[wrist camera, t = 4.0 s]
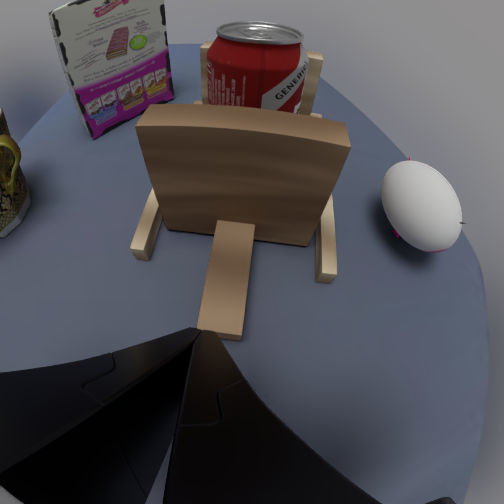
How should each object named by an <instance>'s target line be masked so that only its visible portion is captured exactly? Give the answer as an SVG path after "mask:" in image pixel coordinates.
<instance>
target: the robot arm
mask: <svg viewBox="0 0 504 504" xmlns="http://www.w3.org/2000/svg"><path fill="white" fill-rule="evenodd" d="M173 436H174V438H173ZM172 439H173V444H172V449H171V455H170V460H169V466H168V472H167V478H166V485H165V491H164V497H163V504H381V503H380V502H378V501H377V500H376V499H374V498H373V497H371V496H370V495H369V494H367V493H366V492H365V491H363V490H362V489H361V488H359V487H358V486H357V485H355V484H354V483H353V482H351V481H350V480H349V479H347V478H346V477H345V476H344V475H342V474H341V473H340V472H339V471H337V470H336V469H335V468H334V467H333V466H331V465H330V464H329V463H328V462H327V461H325V460H324V459H323V458H322V457H321V456H320V455H318V454H317V453H316V452H315V451H314V450H313V449H312V448H310V447H309V446H308V445H307V444H306V443H305V442H304V441H303V440H302V439H300V438H299V437H298V436H297V435H296V434H295V433H294V432H293V431H292V430H291V429H290V428H289V427H288V426H287V425H286V424H284V423H283V422H282V421H281V420H280V419H279V418H278V417H277V416H276V415H275V414H274V413H273V412H272V411H271V410H270V409H269V408H268V407H267V406H266V404H265V403H264V402H263V401H262V400H261V399H260V398H259V397H258V395H257V394H256V393H255V391H254V390H253V389H252V387H251V386H250V384H249V383H248V381H247V380H246V379H245V378H244V376H243V374H242V373H241V371H240V370H239V368H238V367H237V365H236V364H235V362H234V361H233V359H232V357H231V356H230V354H229V353H228V351H227V349H226V348H225V346H224V345H223V343H222V341H221V340H220V338H219V336H218V335H217V333H216V332H215V331H211V330H203V331H202V330H201V329H198V328H192V327H189V328H186V329H184V330H181V331H178V332H175V333H172V334H169V335H166V336H163V337H160V338H157V339H154V340H151V341H147V342H144V343H141V344H138V345H135V346H132V347H128V348H125V349H122V350H119V351H115V352H112V353H107V354H103V355H100V356H96V357H92V358H88V359H85V360H80V361H75V362H70V363H64V364H59V365H53V366H47V367H40V368H33V369H26V370H19V371H11V372H2V373H0V504H145V503H146V500H147V498H148V495H149V493H150V491H151V488H152V486H153V484H154V481H155V479H156V477H157V474H158V472H159V469H160V467H161V465H162V462H163V460H164V458H165V455H166V453H167V451H168V448H169V446H170V443H171V441H172ZM426 504H456V503H455V502H454V501H453V500H452V498H450V497H443V498H439V499H436V500H434V501H431V502H428V503H426Z"/></svg>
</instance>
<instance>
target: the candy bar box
mask: <svg viewBox="0 0 504 504" xmlns="http://www.w3.org/2000/svg"><path fill="white" fill-rule="evenodd" d="M49 19H50V24H51V28H52V32H53V36H54V40H55V44H56V47H57V51H58V54H59V58H60V61H61V64H62V68H63V71H64V74H65V77H66V80H67V83H68V86H69V89H70V92H71V95H72V98H73V100H74V103H75V106H76V109H77V111H78V113H79V116H80V118H81V121H82V123H83V125H84V127H85V129H86V130H87V131H88V133H89V135H90V136H91V138H92V139H93V140H94V139H96V138H98V137H99V136H101V135H103V134H104V133H106V132H108V131H110V130H111V129H113V128H115V127H117V126H118V125H120V124H122V123H124V122H126V121H128V120H130V119H131V118H133V117H135V116H137V115H139V114H141V113H143V112H145V111H146V109H147V108H148V107H149V105H150V104H162V103H164V102H166V101H168V100H171V99H173V98H174V91H173V83H172V75H171V68H170V59H169V50H168V43H167V33H166V20H165V8H164V0H75V1H72V2H70V3H68V4H65V5H63V6H61V7H59V8H57V9H55V10H53V11H51V12H49Z"/></svg>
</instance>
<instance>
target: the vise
mask: <svg viewBox="0 0 504 504" xmlns="http://www.w3.org/2000/svg"><path fill="white" fill-rule="evenodd" d="M212 43H213V42H205V43H204V44H203V45H202V46H201V48H200V59H201V84H202V101H194V103H193V104H208V86H207V51H208V49H209V47H210V46H211V45H212ZM305 51H306V53H307V55H308V57H309V65H308V70H307V74H306V79H305V84H304V89H303V94H302V99H301V103H300V108H299V113H298V114H302V115H307V116H313V117H318V118H322V115H321V114H315V113H311V110H312V106H313V102H314V98H315V94H316V90H317V85H318V81H319V77H320V73H321V68H322V64H323V58H322V55H321V53H317V52H312V51H307V50H305ZM162 218H163V217H162V214H161V211H160V208H159V205H158V202H157V199H156V196H155V193H154V190H153V188H152V191H151V193H150V196H149V198H148V200H147V203H146V206H145V208H144V211H143V213H142V216H141V219H140V221H139V224H138V227H137V229H136V232H135V235H134V238H133V241H132V244H131V247H130V249H131V251H132V253H133V254H134V256H135V257H136V259H141V260H148V261H149V260H150V257H151V253H152V250H153V246H154V243H155V240H156V237H157V234H158V231H159V227H160V224H161V221H162ZM315 234H316V282H321V283H331V281H332V280H333V279H334V278H335V276H336V275H337V260H336V240H335V225H334V212H333V200H332V193H331V196H330V198H329V200H328V202H327V205H326V207H325V209H324V211H323V213H322V216H321V218H320V220H319V222H318V224H317V226H316V229H315Z"/></svg>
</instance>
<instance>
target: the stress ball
mask: <svg viewBox="0 0 504 504" xmlns="http://www.w3.org/2000/svg"><path fill="white" fill-rule="evenodd" d="M381 198H382V204H383V208H384V211H385V213H386V215H387V218H388V220H389V221H390V223H391V225H392V226H393V228H394V229H395V230H392V231H393V232H394V234H395V235H396V236H397V238H398V239H399V235H400V236H401V237H402V238H403V239H404V240H405V241H406V242H408V243H409V244H410V245H412V246H414V247H416V248H417V249H420V250H423V251H426V252H441V251H444V250H446V249H448V248H449V247H451V246H452V245H453V244H454V243H455V242H456V240H457V238H458V236H459V234H460V231H461V227H462V224H463V223H462V212H461V207H460V203H459V200H458V198H457V195H456V193H455V192H454V190H453V188H452V187H451V185H450V184H449V182H448V181H447V180H446V179H445V178H444V177H443V176H442V175H441V174H440V173H439V172H437V171H436V170H435V169H434V168H432V167H430V166H428V165H426V164H424V163H421V162H417V161H410V158H409V161H402V162H399V163H397V164H395V165H393V166H392V167H391V168H390V169H389V170H388V171H387V172H386V174H385V176H384V178H383V181H382V186H381Z"/></svg>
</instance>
